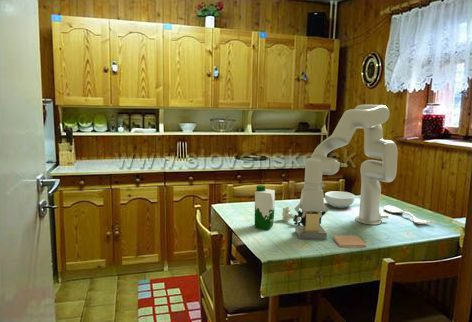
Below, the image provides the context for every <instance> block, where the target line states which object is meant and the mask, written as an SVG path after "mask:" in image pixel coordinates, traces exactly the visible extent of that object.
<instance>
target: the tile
mask: <svg viewBox="0 0 472 322" xmlns="http://www.w3.org/2000/svg"><path fill="white" fill-rule="evenodd" d="M332 239H333V240H334V241H335V242H336V244H337V245H338V247H339V248H367V245H366V243H365V242H364V241H363V240H362V239H361V238H360V237H359V236H358V235H332Z"/></svg>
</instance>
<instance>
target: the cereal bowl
mask: <svg viewBox="0 0 472 322" xmlns="http://www.w3.org/2000/svg"><path fill="white" fill-rule="evenodd" d="M324 201H326V203H327V204H329V205H330V206H332V207H334V208H336V207H337V208H338V209H343V208H344V209H345V208H346V207H349V206H352V205H353V203H354V201H355V194H353V193H351V192H348V191H338V190H337V191H336V190H335V191H333V190H332V191H331V190H330V191H327V192H325V193H324Z"/></svg>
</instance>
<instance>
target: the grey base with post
mask: <svg viewBox="0 0 472 322" xmlns="http://www.w3.org/2000/svg"><path fill="white" fill-rule="evenodd" d="M309 214H313V213H309ZM294 228H295V231H294V233H295V234H296V236H297V238H298V240H310V241H311V240H314V241H315V240H319V241H320V240H322V241H323V240H324V241H326V240H327V236H328V235H327V232H326V230H325V229H324V228H323V226H322V225H320V226H319V232H316V231H305V230H304V228H303V225H300V226H298V225H294Z"/></svg>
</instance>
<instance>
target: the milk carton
mask: <svg viewBox="0 0 472 322" xmlns="http://www.w3.org/2000/svg"><path fill="white" fill-rule="evenodd" d="M275 192H276V189H275V190H274V189H271V188H269V189H268V188H266V186H265V185H264V184H261V185H260V184H259V185H256V190H255V191H254V229H256V230H257V229H258V230H264V231H270V230H271V229H272V227H273V226H274V221H275V199H276V196H275V194H276V193H275Z"/></svg>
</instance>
